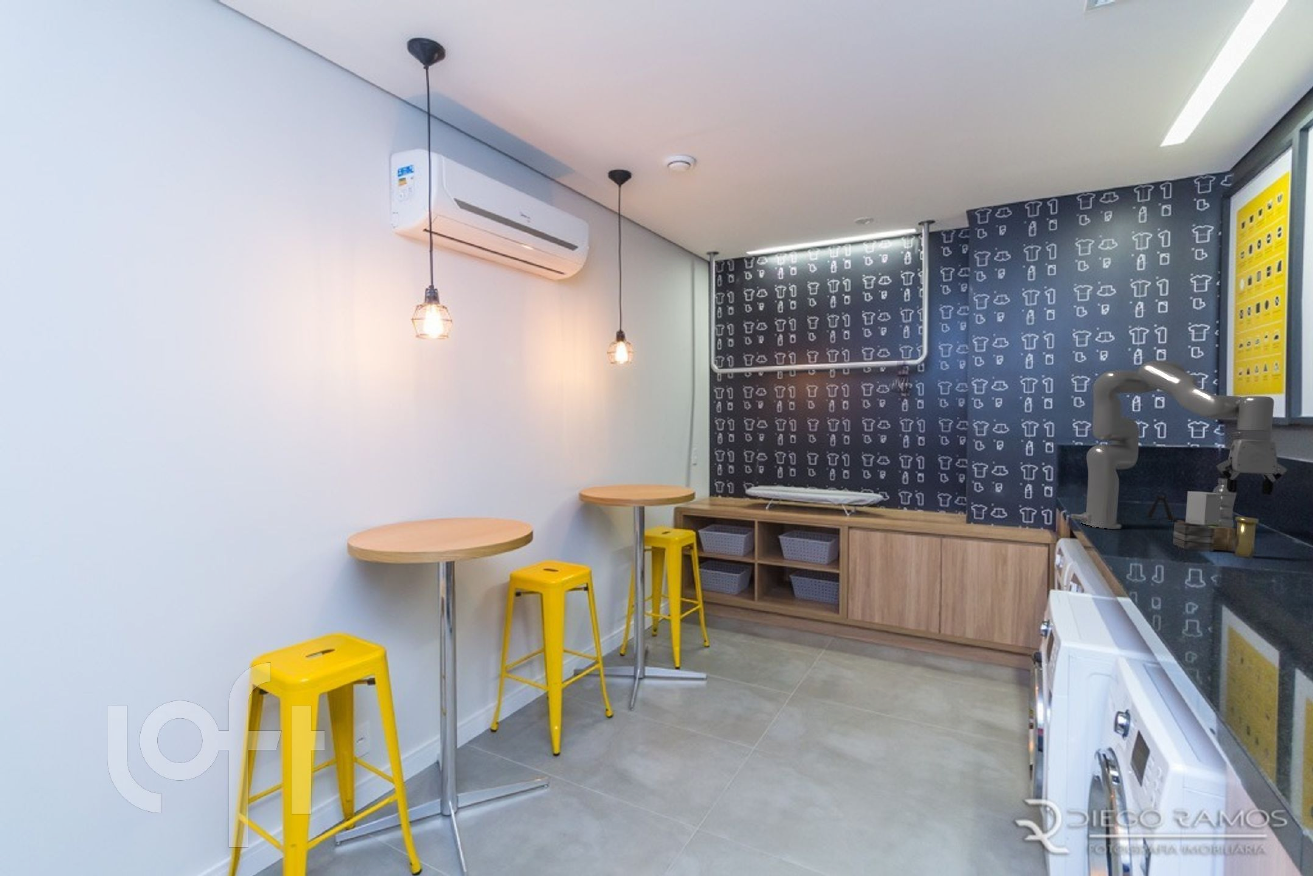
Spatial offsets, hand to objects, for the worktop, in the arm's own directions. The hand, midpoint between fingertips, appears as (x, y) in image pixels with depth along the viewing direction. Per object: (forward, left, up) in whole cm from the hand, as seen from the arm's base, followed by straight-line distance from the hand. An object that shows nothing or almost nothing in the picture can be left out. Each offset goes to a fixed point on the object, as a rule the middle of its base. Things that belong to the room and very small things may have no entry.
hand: (1248, 492), depth 184 cm
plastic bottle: (+16, +50, -20) cm, 56 cm away
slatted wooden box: (-10, +10, -20) cm, 24 cm away
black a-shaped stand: (+4, +69, -20) cm, 72 cm away
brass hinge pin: (0, 0, -20) cm, 20 cm away
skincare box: (+5, +38, -20) cm, 43 cm away
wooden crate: (-7, +7, -20) cm, 22 cm away
